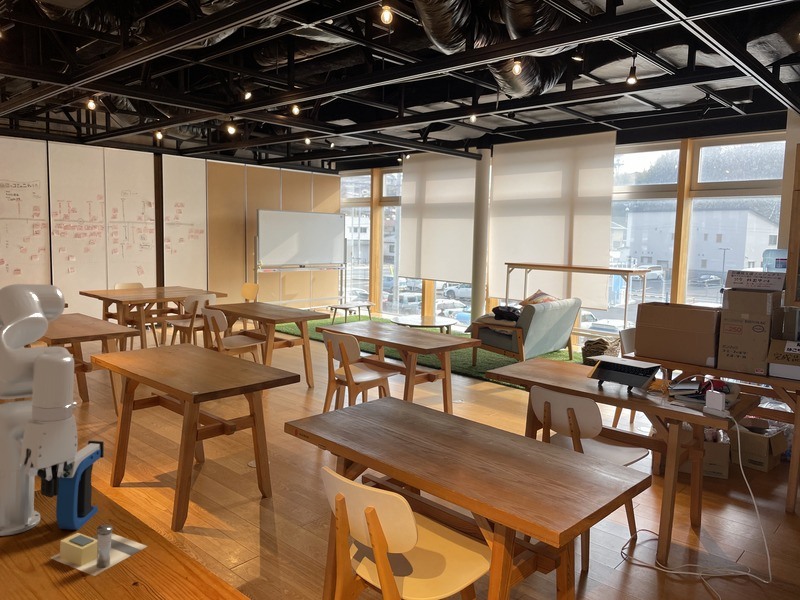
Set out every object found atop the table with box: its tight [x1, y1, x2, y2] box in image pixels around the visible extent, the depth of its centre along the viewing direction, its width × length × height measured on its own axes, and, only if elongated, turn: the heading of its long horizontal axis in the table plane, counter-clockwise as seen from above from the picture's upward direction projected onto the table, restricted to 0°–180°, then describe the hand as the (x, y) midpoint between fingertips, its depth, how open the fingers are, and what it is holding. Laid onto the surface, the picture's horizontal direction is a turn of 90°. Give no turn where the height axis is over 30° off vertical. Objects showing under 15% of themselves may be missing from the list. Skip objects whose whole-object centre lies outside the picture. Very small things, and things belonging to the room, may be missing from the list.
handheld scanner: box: [55, 440, 105, 531], centre depth 152 cm, size 5×16×20 cm, turn 2°
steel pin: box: [96, 524, 114, 568], centre depth 134 cm, size 3×3×9 cm
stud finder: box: [59, 532, 97, 566], centre depth 136 cm, size 7×4×4 cm, turn 67°
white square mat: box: [50, 532, 149, 577], centre depth 139 cm, size 14×15×1 cm
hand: (49, 494), depth 127 cm, fingers closed
